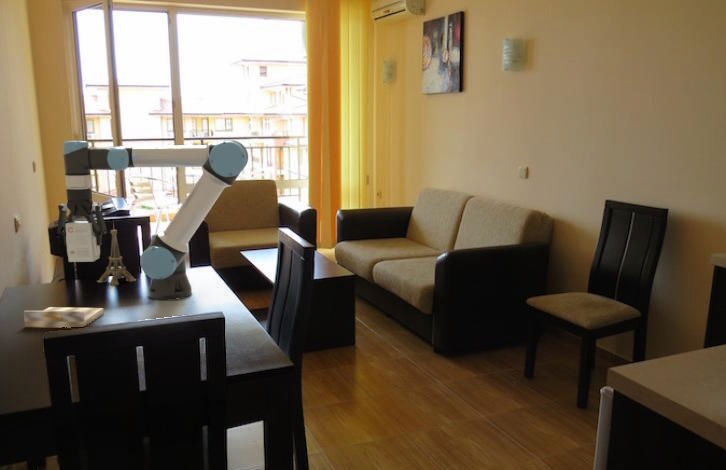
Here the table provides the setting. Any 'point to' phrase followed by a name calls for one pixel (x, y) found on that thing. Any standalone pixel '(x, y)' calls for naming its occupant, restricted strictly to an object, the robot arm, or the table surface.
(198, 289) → the table surface
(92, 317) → the shelf board
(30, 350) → the table surface
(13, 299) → the table surface
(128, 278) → the eiffel tower
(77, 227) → the small box
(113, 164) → the robot arm
